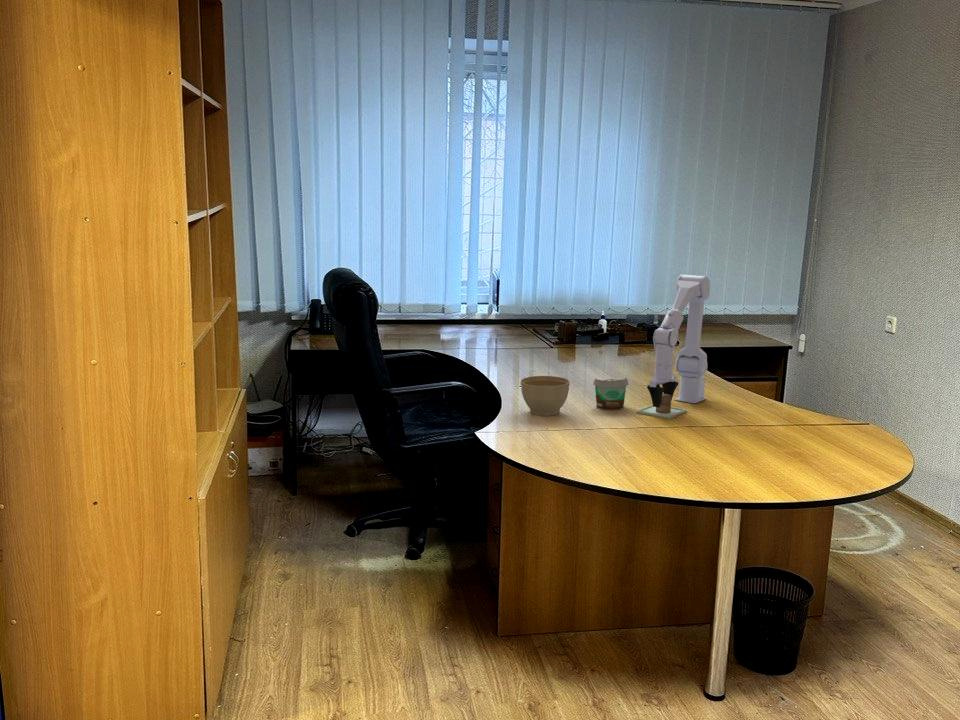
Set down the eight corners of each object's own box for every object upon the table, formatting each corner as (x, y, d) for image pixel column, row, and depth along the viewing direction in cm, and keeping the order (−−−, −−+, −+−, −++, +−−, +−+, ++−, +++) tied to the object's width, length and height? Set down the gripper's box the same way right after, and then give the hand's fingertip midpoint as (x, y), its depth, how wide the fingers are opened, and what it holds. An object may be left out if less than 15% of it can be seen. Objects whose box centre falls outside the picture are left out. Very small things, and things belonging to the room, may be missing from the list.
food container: (599, 411, 293) (600, 382, 291) (592, 407, 299) (593, 378, 297) (633, 409, 297) (634, 380, 295) (625, 405, 302) (627, 376, 300)
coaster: (654, 406, 301) (654, 403, 301) (686, 412, 294) (686, 409, 294) (636, 412, 292) (636, 410, 292) (669, 419, 285) (669, 416, 285)
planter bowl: (538, 404, 303) (539, 373, 301) (578, 412, 293) (579, 380, 291) (510, 413, 290) (510, 380, 288) (550, 421, 280) (551, 388, 278)
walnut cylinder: (658, 409, 296) (659, 393, 295) (672, 411, 293) (673, 394, 292) (653, 412, 292) (654, 395, 291) (667, 414, 289) (668, 397, 288)
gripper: (664, 369, 282) (662, 410, 285) (685, 362, 293) (683, 402, 296) (644, 366, 286) (642, 407, 289) (666, 360, 297) (664, 399, 300)
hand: (661, 404), depth 293 cm, fingers open, 7 cm apart
